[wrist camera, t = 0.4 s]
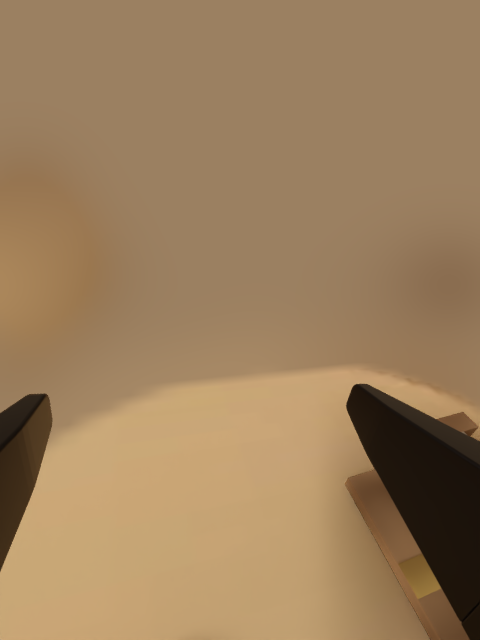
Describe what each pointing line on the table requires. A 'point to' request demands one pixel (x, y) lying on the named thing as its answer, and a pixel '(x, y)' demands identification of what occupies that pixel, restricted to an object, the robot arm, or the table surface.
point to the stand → (409, 548)
